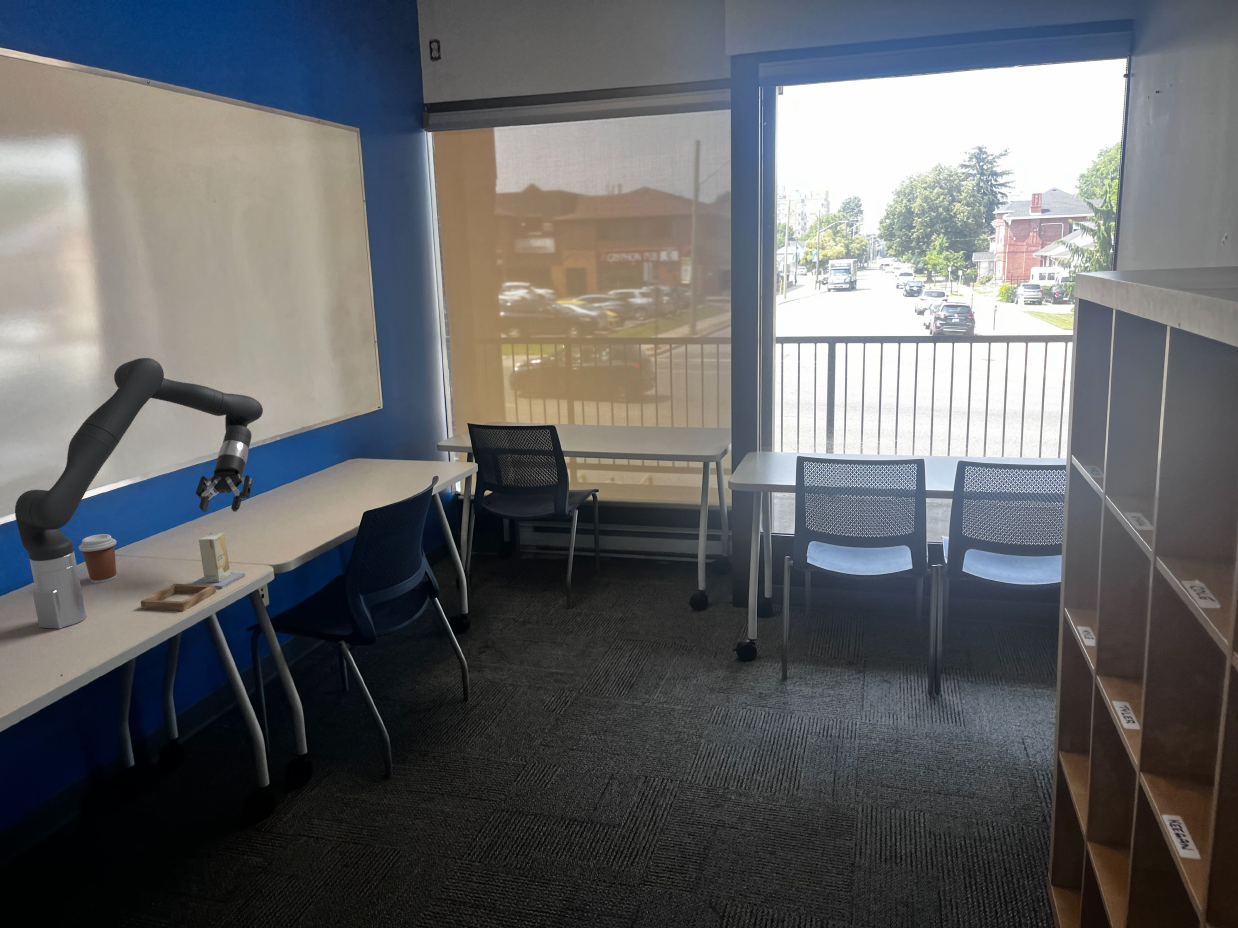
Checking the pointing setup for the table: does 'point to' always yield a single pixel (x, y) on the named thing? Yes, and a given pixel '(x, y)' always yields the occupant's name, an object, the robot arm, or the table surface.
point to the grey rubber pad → (222, 583)
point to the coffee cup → (99, 557)
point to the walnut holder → (158, 602)
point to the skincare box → (214, 557)
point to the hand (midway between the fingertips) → (218, 510)
